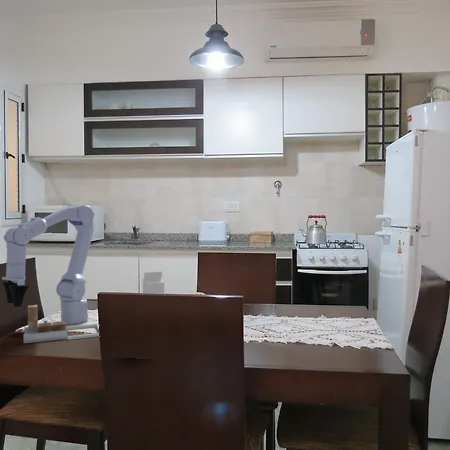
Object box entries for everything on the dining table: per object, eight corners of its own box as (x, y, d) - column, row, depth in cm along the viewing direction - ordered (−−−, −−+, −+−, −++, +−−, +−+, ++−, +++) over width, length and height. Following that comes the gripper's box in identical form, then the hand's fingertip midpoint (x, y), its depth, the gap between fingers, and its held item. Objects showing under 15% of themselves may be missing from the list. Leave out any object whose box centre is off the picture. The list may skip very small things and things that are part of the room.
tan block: (46, 328, 162) (46, 303, 162) (46, 332, 157) (46, 306, 157) (28, 330, 160) (28, 305, 160) (28, 334, 155) (27, 308, 155)
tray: (98, 328, 163) (98, 323, 162) (103, 338, 150) (102, 333, 150) (65, 331, 158) (65, 326, 158) (67, 342, 146) (67, 337, 146)
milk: (143, 337, 152) (142, 271, 151) (161, 335, 154) (160, 270, 153) (146, 342, 146) (145, 273, 145) (165, 340, 148) (164, 272, 147)
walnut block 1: (51, 334, 152) (51, 322, 152) (51, 337, 149) (51, 325, 149) (38, 335, 151) (38, 323, 151) (38, 338, 147) (38, 326, 147)
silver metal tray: (65, 332, 157) (65, 323, 157) (67, 340, 148) (67, 330, 148) (24, 336, 152) (24, 327, 152) (23, 345, 143) (23, 335, 143)
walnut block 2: (65, 332, 154) (65, 321, 154) (66, 336, 150) (65, 324, 150) (52, 334, 153) (52, 322, 152) (53, 337, 149) (52, 325, 149)
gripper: (-3, 262, 154) (-4, 302, 154) (8, 265, 143) (6, 309, 143) (19, 261, 159) (18, 300, 158) (32, 265, 147) (30, 307, 147)
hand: (14, 304), depth 151 cm, fingers open, 7 cm apart
